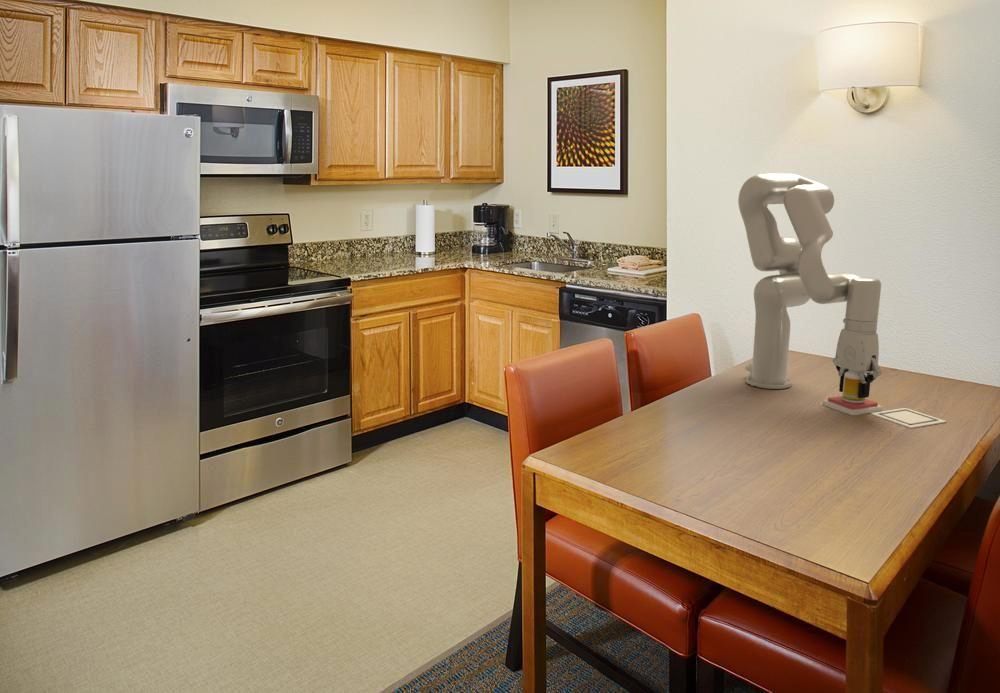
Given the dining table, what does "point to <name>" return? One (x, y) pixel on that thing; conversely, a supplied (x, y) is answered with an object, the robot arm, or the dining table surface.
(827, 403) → the ink pad
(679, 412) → the dining table surface
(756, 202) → the robot arm
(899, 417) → the marked sheet
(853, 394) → the supplement bottle
